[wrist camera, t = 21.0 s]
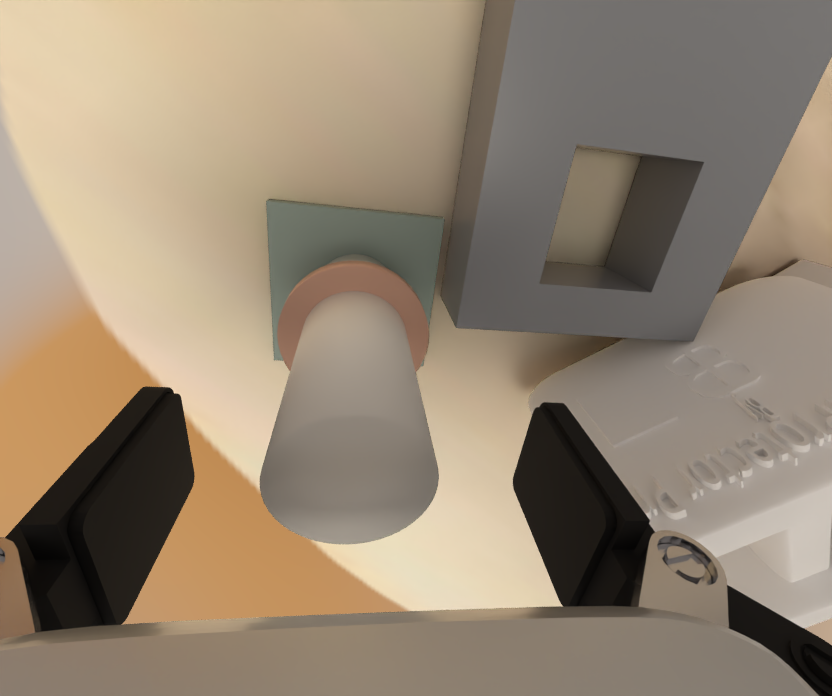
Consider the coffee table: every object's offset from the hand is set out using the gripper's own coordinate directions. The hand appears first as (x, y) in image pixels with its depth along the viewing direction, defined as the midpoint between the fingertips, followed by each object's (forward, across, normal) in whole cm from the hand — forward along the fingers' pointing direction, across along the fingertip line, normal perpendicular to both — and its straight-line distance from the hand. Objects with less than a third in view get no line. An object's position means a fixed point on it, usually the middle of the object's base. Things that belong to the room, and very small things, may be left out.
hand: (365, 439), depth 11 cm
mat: (+11, +1, 0) cm, 11 cm away
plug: (+11, 0, 0) cm, 11 cm away
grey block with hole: (+11, -10, -9) cm, 18 cm away
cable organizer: (+11, -18, +4) cm, 21 cm away
